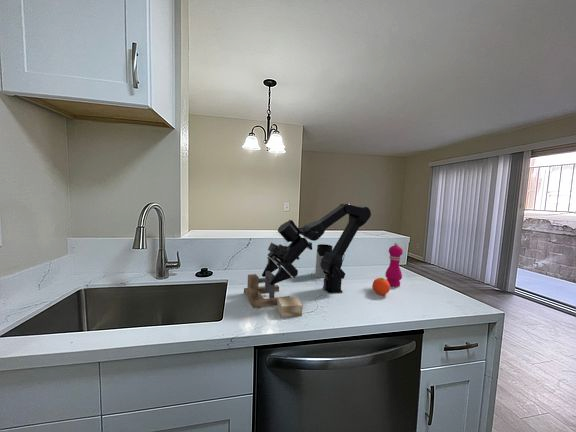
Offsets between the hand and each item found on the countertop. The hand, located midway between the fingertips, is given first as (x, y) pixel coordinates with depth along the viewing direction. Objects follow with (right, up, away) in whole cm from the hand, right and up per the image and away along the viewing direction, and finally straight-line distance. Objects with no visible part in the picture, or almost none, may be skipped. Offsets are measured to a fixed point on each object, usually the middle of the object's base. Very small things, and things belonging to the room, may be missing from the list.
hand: (266, 280), depth 96 cm
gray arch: (+1, -6, +1) cm, 6 cm away
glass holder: (+28, -6, +32) cm, 44 cm away
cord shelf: (+1, -7, +1) cm, 7 cm away
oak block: (+9, -8, -9) cm, 15 cm away
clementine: (+47, -9, +11) cm, 49 cm away
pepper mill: (+57, -8, +24) cm, 63 cm away
